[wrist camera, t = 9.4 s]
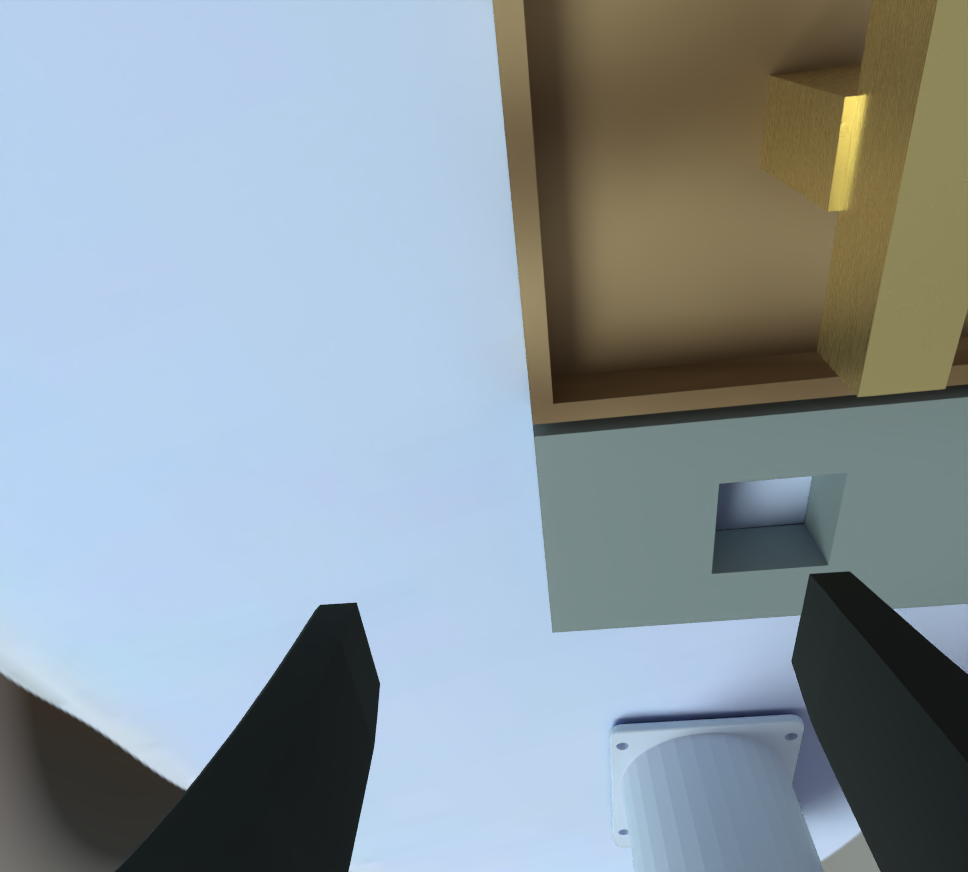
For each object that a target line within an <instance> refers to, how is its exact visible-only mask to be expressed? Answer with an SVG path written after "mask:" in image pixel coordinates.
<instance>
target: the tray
mask: <svg viewBox="0 0 968 872" xmlns="http://www.w3.org/2000/svg"><path fill="white" fill-rule="evenodd" d="M871 1H872V0H493V10H494V21H495V31H496V42H497V52H498V63H499V73H500V84H501V94H502V105H503V116H504V126H505V137H506V147H507V158H508V168H509V179H510V189H511V200H512V210H513V221H514V232H515V242H516V253H517V263H518V274H519V284H520V295H521V305H522V316H523V326H524V337H525V348H526V358H527V369H528V379H529V390H530V400H531V411H532V421H533V425H536V424H546V423H557V422H568V421H579V420H589V419H600V418H611V417H622V416H632V415H643V414H654V413H664V412H675V411H686V410H697V409H707V408H718V407H729V406H740V405H750V404H761V403H772V402H783V401H793V400H804V399H815V398H826V397H836V396H847V395H855V394H854V392H853V391H852V390H851V389H850V388H849V387H848V386H847V385H846V384H845V382H844V381H843V380H842V379H841V378H840V377H839V376H838V375H837V374H836V372H835V371H834V370H833V369H832V368H831V367H830V366H829V365H828V364H827V362H826V361H825V360H824V359H823V358H822V357H821V356H820V355H819V354H818V352H817V345H818V339H819V333H820V326H821V320H822V314H823V307H824V301H825V294H826V288H827V282H828V275H829V269H830V263H831V256H832V250H833V243H834V237H835V231H836V224H837V218H838V212H839V211H831V212H827V211H826V210H824V209H823V208H821V207H820V206H818V205H817V204H815V203H814V202H812V201H810V200H809V199H807V198H806V197H804V196H803V195H801V194H800V193H798V192H797V191H795V190H794V189H792V188H790V187H789V186H787V185H786V184H784V183H783V182H781V181H780V180H778V179H777V178H775V177H774V176H772V175H771V174H769V173H767V172H766V171H764V170H763V169H761V168H760V165H761V154H762V143H763V133H764V122H765V111H766V100H767V89H768V79H769V75H774V74H782V73H789V72H797V71H805V70H812V69H820V68H828V67H835V66H843V65H850V64H858V63H862V59H863V52H864V46H865V39H866V33H867V27H868V20H869V14H870V8H871ZM965 384H968V310H967V313H966V317H965V320H964V324H963V328H962V331H961V335H960V338H959V342H958V345H957V349H956V353H955V356H954V360H953V363H952V367H951V371H950V374H949V378H948V381H947V385H946V386H954V385H965Z"/></svg>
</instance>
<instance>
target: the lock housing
mask: <svg viewBox="0 0 968 872" xmlns="http://www.w3.org/2000/svg"><path fill="white" fill-rule="evenodd" d="M533 431H534V442H535V453H536V464H537V474H538V485H539V495H540V506H541V516H542V527H543V537H544V548H545V558H546V569H547V579H548V590H549V601H550V611H551V622H552V632H567V631H582V630H596V629H610V628H625V627H639V626H654V625H668V624H682V623H697V622H711V621H725V620H740V619H754V618H768V617H783V616H797V615H801V613H802V608H803V603H804V598H805V593H806V588H807V583H808V579H809V574H815V573H830V572H846V571H850V572H851V573H852V574H854V575H855V576H856V577H857V578H858V579H859V580H860V581H862V582H863V583H864V584H865V585H866V586H867V587H868V588H869V589H871V590H872V591H873V592H874V593H875V594H876V595H877V596H878V597H880V598H881V599H882V600H883V601H884V602H885V603H886V604H887V605H889V606H890V607H891V608H892V609H898V608H912V607H926V606H941V605H955V604H968V384H965V385H954V386H946V389H940V390H930V391H919V392H908V393H898V394H887V395H877V396H866V397H857V396H856V395H847V396H836V397H826V398H815V399H804V400H793V401H783V402H772V403H761V404H750V405H740V406H729V407H718V408H707V409H697V410H686V411H675V412H664V413H654V414H643V415H632V416H622V417H611V418H600V419H589V420H579V421H568V422H557V423H546V424H536V425H533ZM805 476H812V482H811V488H810V493H809V499H808V505H807V511H806V516H805V522H804V524H797V525H784V526H772V527H759V528H747V529H734V530H722V531H715V527H716V516H717V504H718V492H719V484H723V483H735V482H746V481H758V480H770V479H782V478H794V477H805Z"/></svg>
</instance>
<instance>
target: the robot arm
mask: <svg viewBox="0 0 968 872" xmlns="http://www.w3.org/2000/svg"><path fill="white" fill-rule="evenodd" d="M792 664H793V667H794V671H795V674H796V677H797V680H798V683H799V686H800V690H801V693H802V696H803V699H804V702H805V705H806V708H807V711H808V713H809V716H810V719H811V722H812V725H813V727H814V730H815V732H816V734H817V736H818V738H819V741H820V743H821V745H822V747H823V749H824V752H825V754H826V756H827V758H828V760H829V762H830V765H831V767H832V769H833V771H834V773H835V775H836V778H837V780H838V782H839V784H840V786H841V788H842V790H843V792H844V795H845V797H846V799H847V801H848V803H849V805H850V807H851V810H852V812H853V814H854V816H855V818H856V820H857V822H858V824H859V827H860V829H861V831H862V833H863V835H864V837H865V839H866V842H867V844H868V846H869V848H870V850H871V852H872V854H873V857H874V859H875V861H876V863H877V865H878V867H879V869H880V871H881V872H968V674H967V673H966V672H964V671H963V670H962V669H961V668H960V667H958V666H957V665H956V664H955V663H954V662H952V661H951V660H950V659H949V658H948V657H946V656H945V655H944V654H943V653H942V652H941V651H940V650H938V649H937V648H936V647H935V646H934V645H933V644H931V643H930V642H929V641H928V640H927V639H926V638H925V637H924V636H922V635H921V634H920V633H919V632H918V631H917V630H916V629H914V628H913V627H912V626H911V625H910V624H909V623H908V622H906V621H905V620H904V619H903V618H902V617H901V616H900V615H899V614H898V613H896V612H895V611H894V610H893V609H892V608H891V607H890V606H889V605H887V604H886V603H885V602H884V601H883V600H882V599H881V598H880V597H878V596H877V595H876V594H875V593H874V592H873V591H872V590H871V589H869V588H868V587H867V586H866V585H865V584H864V583H863V582H862V581H860V580H859V579H858V578H857V577H856V576H855V575H854V574H852V573H851V572H850V571H846V572H830V573H815V574H809V579H808V583H807V588H806V593H805V598H804V603H803V608H802V613H801V617H800V622H799V627H798V632H797V637H796V642H795V647H794V651H793V656H792ZM379 689H380V682H379V679H378V675H377V672H376V668H375V665H374V662H373V658H372V655H371V651H370V648H369V644H368V641H367V637H366V634H365V630H364V627H363V623H362V620H361V617H360V613H359V610H358V606H357V603H343V604H328V605H320V606H319V607H318V608H317V609H316V610H315V611H314V613H313V614H312V616H311V618H310V619H309V621H308V622H307V624H306V625H305V627H304V628H303V630H302V632H301V633H300V635H299V636H298V638H297V639H296V641H295V642H294V644H293V646H292V647H291V649H290V650H289V652H288V653H287V655H286V656H285V658H284V659H283V661H282V662H281V664H280V665H279V667H278V668H277V670H276V671H275V673H274V674H273V676H272V677H271V679H270V680H269V681H268V683H267V684H266V686H265V687H264V689H263V690H262V691H261V693H260V694H259V696H258V697H257V698H256V700H255V701H254V703H253V704H252V706H251V707H250V708H249V710H248V711H247V713H246V714H245V715H244V717H243V718H242V720H241V721H240V722H239V724H238V725H237V726H236V728H235V729H234V731H233V732H232V733H231V734H230V736H229V737H228V738H227V740H226V741H225V742H224V744H223V745H222V746H221V747H220V749H219V750H218V751H217V753H216V754H215V755H214V756H213V758H212V759H211V760H210V762H209V763H208V764H207V765H206V767H205V768H204V769H203V771H202V772H201V773H200V775H199V776H198V777H197V778H196V780H195V781H194V782H193V783H192V784H191V786H190V787H189V788H188V789H187V791H186V792H185V793H184V794H183V795H182V797H181V798H180V799H179V800H178V801H177V803H176V804H175V805H174V806H173V807H172V809H171V810H170V811H169V812H168V813H167V815H165V817H164V818H163V819H162V820H161V821H160V822H159V823H158V825H157V826H156V827H155V828H154V829H153V830H152V831H151V832H150V834H149V835H148V836H147V837H146V838H145V839H144V840H143V841H142V843H141V844H140V845H139V846H138V847H137V848H136V849H135V850H134V851H133V852H132V853H131V854H130V855H129V857H128V858H127V859H126V860H125V861H124V862H123V863H122V864H121V865H120V866H119V867H118V868H117V869H116V870H115V871H114V872H348V871H349V866H350V861H351V857H352V852H353V847H354V842H355V837H356V833H357V828H358V823H359V818H360V813H361V809H362V804H363V799H364V794H365V789H366V784H367V780H368V775H369V770H370V765H371V760H372V755H373V750H374V743H375V733H376V724H377V713H378V701H379ZM803 732H804V723H803V721H802V719H801V718H800V717H799V716H797V715H792V714H788V715H771V716H754V717H737V718H720V719H703V720H686V721H669V722H652V723H635V724H620V725H616V726H614V727H612V728H611V729H610V732H609V738H610V768H611V798H612V829H613V841H614V844H615V845H616V846H618V847H622V848H627V847H631V852H632V858H633V865H634V871H635V872H824V870H823V867H822V864H821V862H820V859H819V856H818V854H817V851H816V848H815V846H814V843H813V840H812V838H811V835H810V832H809V830H808V827H807V824H806V822H805V819H804V816H803V814H802V811H801V808H800V806H799V803H798V800H797V798H796V795H795V792H794V790H793V787H792V782H793V778H794V773H795V769H796V764H797V760H798V755H799V751H800V746H801V742H802V737H803Z"/></svg>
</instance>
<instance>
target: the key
mask: <svg viewBox="0 0 968 872" xmlns="http://www.w3.org/2000/svg"><path fill="white" fill-rule="evenodd" d="M760 168H761V169H763V170H764V171H766V172H767V173H769V174H771V175H772V176H774V177H775V178H777V179H778V180H780V181H781V182H783V183H784V184H786V185H787V186H789V187H790V188H792V189H794V190H795V191H797V192H798V193H800V194H801V195H803V196H804V197H806V198H807V199H809V200H810V201H812V202H814V203H815V204H817V205H818V206H820V207H821V208H823V209H824V210H826V211H827V212H831V211H839V212H838V218H837V224H836V231H835V237H834V243H833V250H832V256H831V263H830V269H829V275H828V282H827V288H826V294H825V301H824V307H823V314H822V320H821V326H820V333H819V339H818V345H817V352H818V354H819V355H820V356H821V357H822V358H823V359H824V360H825V361H826V362H827V364H828V365H829V366H830V367H831V368H832V369H833V370H834V371H835V372H836V374H837V375H838V376H839V377H840V378H841V379H842V380H843V381H844V382H845V384H846V385H847V386H848V387H849V388H850V389H851V390H852V391H853V392H854V394H855V395H856V396H857V397H866V396H877V395H887V394H898V393H908V392H919V391H930V390H940V389H946V385H947V381H948V378H949V374H950V371H951V367H952V363H953V360H954V356H955V353H956V349H957V345H958V342H959V338H960V335H961V331H962V328H963V324H964V320H965V317H966V313H967V310H968V0H872V1H871V8H870V14H869V20H868V27H867V33H866V39H865V46H864V52H863V59H862V63H858V64H850V65H843V66H835V67H828V68H820V69H812V70H805V71H797V72H789V73H782V74H774V75H769V79H768V89H767V100H766V111H765V122H764V133H763V143H762V154H761V165H760Z"/></svg>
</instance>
